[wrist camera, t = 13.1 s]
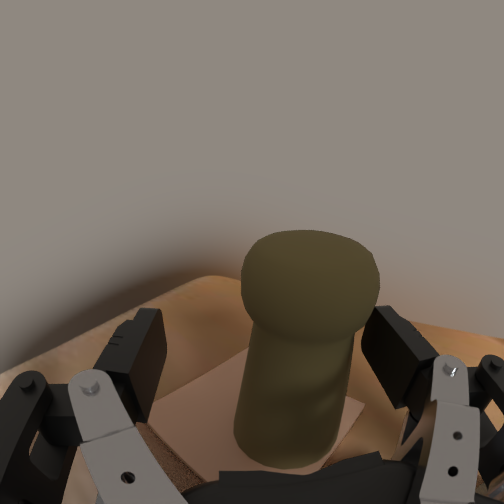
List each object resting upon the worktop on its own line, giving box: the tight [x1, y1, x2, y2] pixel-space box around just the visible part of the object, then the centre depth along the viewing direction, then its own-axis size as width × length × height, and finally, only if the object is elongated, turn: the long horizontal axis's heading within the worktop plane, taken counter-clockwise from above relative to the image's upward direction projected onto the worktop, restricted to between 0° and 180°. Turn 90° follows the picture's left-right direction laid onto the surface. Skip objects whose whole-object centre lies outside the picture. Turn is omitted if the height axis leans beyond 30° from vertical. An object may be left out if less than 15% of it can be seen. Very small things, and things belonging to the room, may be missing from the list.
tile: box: [146, 347, 366, 483], centre depth 14 cm, size 10×10×1 cm
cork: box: [233, 230, 380, 470], centre depth 11 cm, size 6×6×11 cm
